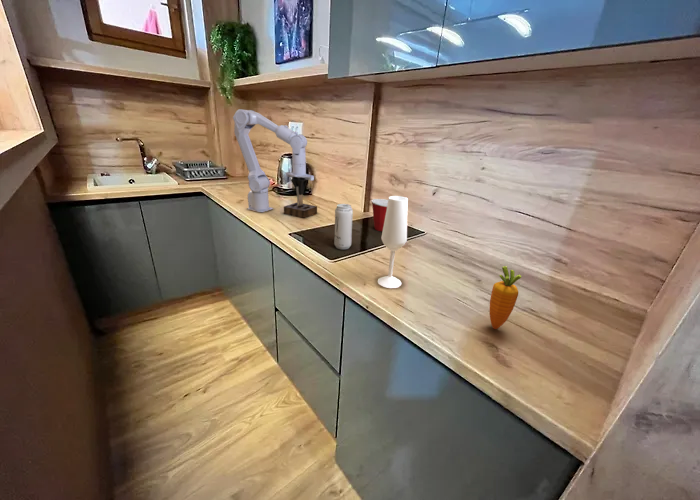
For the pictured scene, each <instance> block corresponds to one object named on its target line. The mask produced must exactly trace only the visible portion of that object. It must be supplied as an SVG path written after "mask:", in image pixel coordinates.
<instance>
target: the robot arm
mask: <svg viewBox="0 0 700 500" xmlns="http://www.w3.org/2000/svg"><path fill="white" fill-rule="evenodd" d="M232 119H233V122H234V128H233V129H234V132H233V133H234V136H235V139H236V141H237V143H238V146H239V149H240V151H241V154H242V157H243V159H244V162H245V165H246V168H247V171H248V175H247V180H248V188H249V189H250V190H249V191H248V194H247V206H248V207H247V208H246V210H249V211H253V212H258V213H265V212H268V211H271V210H273V209H274V208H273V207H270V201H269V200H270V199H269V187H270V185H271V181H270V179H269V177H268V176H267V175H266V172H265V171H263V170H262V168H261V165H260V163H259V160H258V158H257V155H256V152H255V150H254V146H253V144H252V140H251V138H250V135H249V134H250V132H251V130H252V129H253V128H254V127H255V126H256V125H259V126H261V127H263V128H265V129H267V130H269V131H271V132H273V133H274V134H275V137H276V138H278V139H279V140H281V141H283V142H284V143H286V144H287V145H288V146H290V147H291V149H292V153H291V154H292V172H291V171H286V172H285V174H284V175H285V177H286V178H291V179H290V181H291V183H292V185H293V187H294V190H295V193H296V195H297V189H296V187H297V186H299V195H303V196H304V193H305V188H306V186H307V184H308V182H309V181H311V182H312V181H314V180H315V176H314V175H311V174H309V173H307V160H306V159H307V157H306V156H307V154H306V147H307V146H308V139H307V138H306V136H304V135H303V134H301V133H300V134H298V131H296V130H295V131H294V130H293V129H291V128H289V126H288V125H287V124H281V125H278V124H277V123H275V122H273V121H272V120H270V119H269V118H267V117H266V116H264V115H263V114H261V113H260V112H256V111H255V110H253V109H242V108H239V109H237V110H235V113H234V114H233V116H232Z"/></svg>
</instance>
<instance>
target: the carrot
mask: <svg viewBox="0 0 700 500" xmlns="http://www.w3.org/2000/svg"><path fill="white" fill-rule="evenodd" d="M501 269H502V273H503V274H499V278H500V279H501V281H497V282H495V283H493V285H492V289H491V294H490V298H489V299H490V300H489V320H490V324H491V327H492V329H493V330H497V329H498V330H499V328H501V326H503V325H504V324H505V323H506V322H507V321H508V319H509V318H510V316H511V314H512V312H513V311H514V308H515V305H516V302H517V299H518V296H519V289H518V286H516V285H515V283H516V282H517V281H518V280H520V279H522V275H521V274H517V275H515V270H514V269H510V270H509V269H508V266H506V265H504V266H502V267H501Z"/></svg>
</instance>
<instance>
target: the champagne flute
mask: <svg viewBox="0 0 700 500" xmlns="http://www.w3.org/2000/svg"><path fill="white" fill-rule="evenodd" d="M387 200H388V205H387V210H386V216H385V221H384V226H383V231H381V232H382V233H381V238H380V239H381V242H382V244H383V245H384V246H385V248H387V250H389V251H390V254H389V262H388V263H389V264H388V272H387V275H386V276H381V277H379V278H378V280H377V283H378V285H379V286H381V287H383V288H387V289H397V288H400V287H401V286H402V281H401V280H400V279H399V278H397V277H395V276H394V275H393V274H394V264H395V254H396V251H399V250H400V249H401V248H403V247H405V245H406V243H407V241H408V205H409V199H408V197H406V196H402V195H391V196H388V199H387Z"/></svg>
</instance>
